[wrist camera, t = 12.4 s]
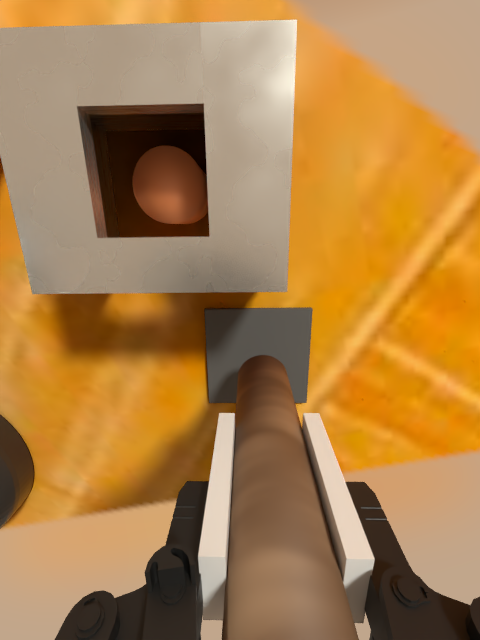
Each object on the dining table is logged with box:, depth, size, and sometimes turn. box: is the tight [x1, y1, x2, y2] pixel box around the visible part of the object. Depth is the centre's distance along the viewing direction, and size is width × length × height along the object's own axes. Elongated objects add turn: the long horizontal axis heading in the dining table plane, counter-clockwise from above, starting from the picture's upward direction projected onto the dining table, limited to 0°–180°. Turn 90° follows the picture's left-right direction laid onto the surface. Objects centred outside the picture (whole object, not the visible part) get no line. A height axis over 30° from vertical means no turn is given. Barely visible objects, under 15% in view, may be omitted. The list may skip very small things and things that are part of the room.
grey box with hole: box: [0, 20, 297, 294], centre depth 16 cm, size 12×10×8 cm
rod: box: [222, 355, 359, 640], centre depth 13 cm, size 3×3×16 cm
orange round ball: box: [132, 146, 208, 224], centre depth 18 cm, size 4×4×4 cm
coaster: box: [205, 308, 312, 403], centre depth 23 cm, size 8×8×1 cm
